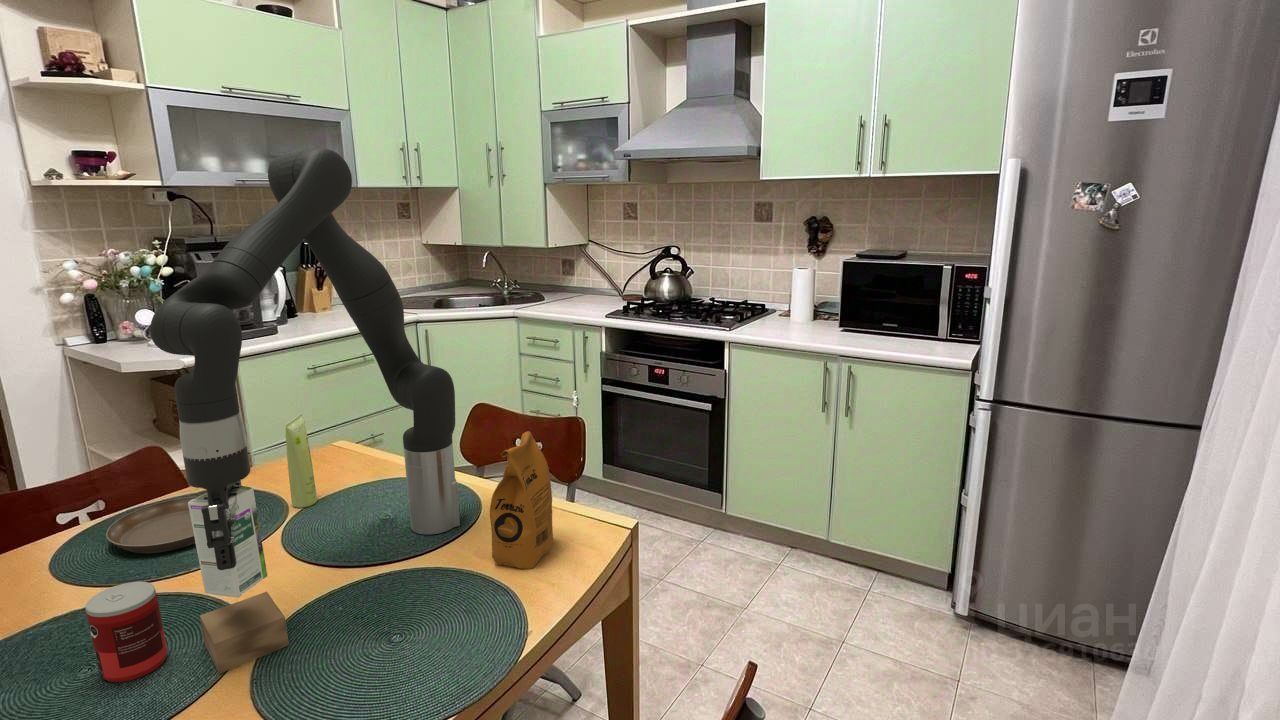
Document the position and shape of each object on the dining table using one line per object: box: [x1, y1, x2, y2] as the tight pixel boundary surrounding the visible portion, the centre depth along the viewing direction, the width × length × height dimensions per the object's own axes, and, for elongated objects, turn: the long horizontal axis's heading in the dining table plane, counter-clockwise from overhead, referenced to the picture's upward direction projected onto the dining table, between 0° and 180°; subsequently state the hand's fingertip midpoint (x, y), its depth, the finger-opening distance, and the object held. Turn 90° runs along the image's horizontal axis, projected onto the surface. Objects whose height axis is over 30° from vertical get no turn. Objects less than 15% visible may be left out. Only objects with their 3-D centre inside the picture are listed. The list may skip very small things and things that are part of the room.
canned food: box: [85, 581, 168, 683], centre depth 94 cm, size 8×8×11 cm
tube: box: [285, 412, 318, 509], centre depth 143 cm, size 6×5×20 cm
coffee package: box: [489, 430, 554, 570], centre depth 122 cm, size 10×12×22 cm
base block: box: [199, 591, 290, 675], centre depth 99 cm, size 9×9×5 cm
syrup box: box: [188, 485, 268, 598], centre depth 95 cm, size 6×6×14 cm
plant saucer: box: [105, 496, 198, 554], centre depth 133 cm, size 21×21×3 cm
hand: (232, 553), depth 96 cm, fingers closed on syrup box, 7 cm apart
